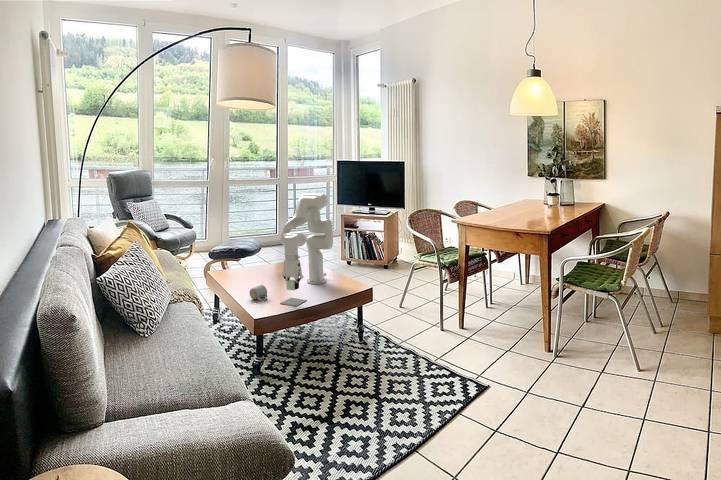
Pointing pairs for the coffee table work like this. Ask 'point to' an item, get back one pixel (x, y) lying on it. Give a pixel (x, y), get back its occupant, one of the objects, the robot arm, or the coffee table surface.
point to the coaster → (293, 302)
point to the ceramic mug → (258, 293)
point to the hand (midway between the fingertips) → (292, 288)
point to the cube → (290, 284)
